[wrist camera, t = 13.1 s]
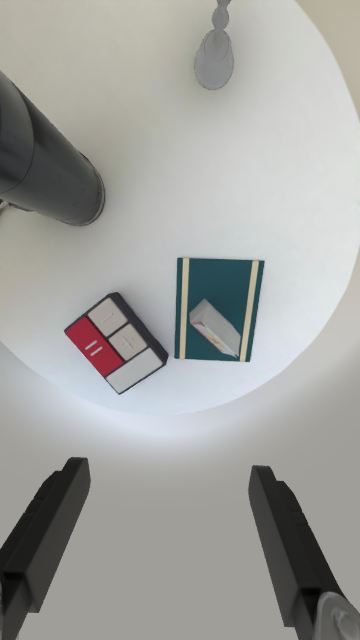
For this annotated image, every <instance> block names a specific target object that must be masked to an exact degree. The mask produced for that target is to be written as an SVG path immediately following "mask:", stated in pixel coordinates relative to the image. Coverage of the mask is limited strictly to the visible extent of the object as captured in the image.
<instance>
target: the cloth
mask: <svg viewBox="0 0 360 640" xmlns="http://www.w3.org/2000/svg"><path fill="white" fill-rule="evenodd" d="M263 268H264V261H255V260H225V259H195V258H178V260H177V295H176V331H175V359H197V360H220V361H240V362H250V357H251V350H252V343H253V336H254V329H255V323H256V316H257V309H258V302H259V295H260V288H261V282H262V275H263ZM204 298H205V299H206V300H207V301H208V302H209V303H210V304H211V305H212V306H213V307H214V308H215V309H216V310H217V311H218V312H219V313H220V314H221V315H222V316H223V317H224V318H225V319H227V320H228V321H229V322H230V323H231V324H232V326H233V327H234V328H235V330H236V331H237V332H238V333H239V335H240V336H241V337H240V344H239V356H237V355H236V354H235V356H236V357H235V356H232V355H229V354H225V353H222V352H221V351H220V350H219V349H218V348H217V347H215V346H214V345H213V344H212V343H211V342H210V341H209V340H208V339H207V338H206V337H205V336H204V335H202V334H201V333H200V332H199V331H198V330H197V329H196V328H195V327H194V326H193V325H192V324H191V323H190V314H189V313H190V312H191V311H192V310H193V309H194V308H195V307H196V306H197V305H198V304H199V303H200V302H201V301H202V300H203V299H204Z"/></svg>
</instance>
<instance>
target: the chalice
mask: <svg viewBox="0 0 360 640" xmlns="http://www.w3.org/2000/svg"><path fill="white" fill-rule="evenodd" d="M230 1H231V0H217V3H218V7H217V8H216V9H215V11H214V12H213V16H212V22H213V25H214V27H215V29H214V30H211V31H210V32H209V33H207V34H206V36H205V37H204V39H203V42H202V44H201V45H200V48H199V50H198V51H197V54H196V58H195V73H196V76H197V78H198V81H199V82H200V83H201V84H202V85H203V86H204V87H205V88H207V89H212V90H216V89H218V88H221V87H222V86H224V85H225V84H226V83H227V81H228V80H229V78H230V77H231V74H232V71H233V65H234V59H233V53H232V47H231V41H230V38H229V36H228V35H227V33H226V32H225V31H224V30H223V29H225V28H226V26H227V25H228V21H229V15H228V12H227V10H226V8H227V5H228V4H229V3H230Z"/></svg>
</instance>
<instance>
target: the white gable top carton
mask: <svg viewBox="0 0 360 640" xmlns="http://www.w3.org/2000/svg"><path fill="white" fill-rule="evenodd" d="M189 314H190V323H191V324H192V325H193V326H194V327H195V328H196V329H197V330H198V331H199V332H200V333H201V334H202V335H204V336H205V337H206V338H207V339H208V340H209V341H210V342H211V343H212V344H213V345H214V346H215V347H217V348H218V349H219V350H220V351H221V352H222V353H225V354H229V355H232V356H235V354H236V355H237V356H239V344H240V337H241V336H240V335H239V333H238V332H237V331H236V330H235V328H234V327H233V326H232V324H231V323H230V322H229V321H228V320H227V319H225V318H224V317H223V316H222V315H221V314H220V313H219V312H218V311H217V310H216V309H215V308H214V307H213V306H212V305H211V304H210V303H209V302H208V301H207V300H206V299H205V298H204V299H203V300H202V301H201V302H200V303H199V304H198V305H197V306H196V307H195V308H194V309H193V310H192V311H191V312H190V313H189ZM235 357H236V356H235Z"/></svg>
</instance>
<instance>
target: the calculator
mask: <svg viewBox="0 0 360 640" xmlns="http://www.w3.org/2000/svg"><path fill="white" fill-rule="evenodd" d="M64 332H65V334H66V335H67V336H68V337H69V338H70V339H71V341H72V342H73V343H74V344H75V345H76V346H77V348H78V349H79V350H80V351H81V352H82V353H83V354H84V356H85V357H86V358H87V359H88V360H89V361H90V362H91V364H92V365H93V366H94V367H95V368H96V369H97V371H98V372H99V373H100V374H101V375H102V376H103V377H104V379H105V380H106V381H107V382H108V383H109V384H110V385H111V387H112V388H113V389H114V390H115V391H116V392H117V393H118V394H119V395H120V394H122V393H124V392H125V391H127V390H128V389H130V388H131V387H133V386H134V385H136V384H137V383H139V382H140V381H142V380H144V379H145V378H147V377H148V376H150V375H151V374H153V373H154V372H156V371H157V370H159V369H160V368H162V367H163V366H165V365H166V362H167V359H168V354H167V352H166V351H165V350H164V349H163V347H162V346H161V345H160V343H159V342H158V341H157V340H156V339H155V338H153V336H152V335H151V334H150V332H149V331H148V330H147V329H146V327H145V326H144V325H143V324H142V322H141V321H140V320H139V318H138V317H137V316H136V315H135V313H134V312H133V311H132V310H131V308H130V307H129V306H128V304H127V303H126V302H125V301H124V299H123V298H122V297H121V295H120V294H119V293H118V292H115V293H111V294H108V295H107V296H106V297H104V298H103V299H102V300H101V301H99V302H98V303H97V304H96V305H94V306H93V307H92V308H91V309H89V310H88V311H87V312H86V313H84V314H83V315H82V316H81V317H79V318H78V319H77V320H76V321H74V322H73V323H72V324H71V325H69V326H68V327H67V328H66V329H65V330H64Z"/></svg>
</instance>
